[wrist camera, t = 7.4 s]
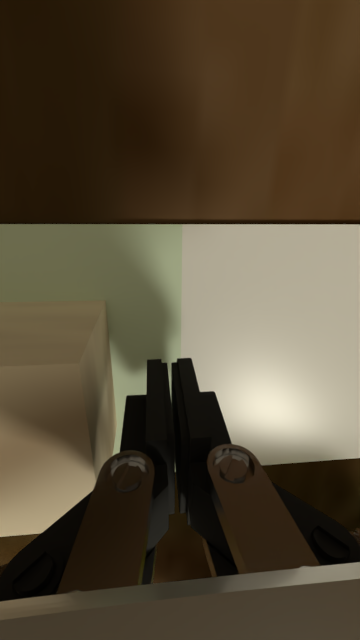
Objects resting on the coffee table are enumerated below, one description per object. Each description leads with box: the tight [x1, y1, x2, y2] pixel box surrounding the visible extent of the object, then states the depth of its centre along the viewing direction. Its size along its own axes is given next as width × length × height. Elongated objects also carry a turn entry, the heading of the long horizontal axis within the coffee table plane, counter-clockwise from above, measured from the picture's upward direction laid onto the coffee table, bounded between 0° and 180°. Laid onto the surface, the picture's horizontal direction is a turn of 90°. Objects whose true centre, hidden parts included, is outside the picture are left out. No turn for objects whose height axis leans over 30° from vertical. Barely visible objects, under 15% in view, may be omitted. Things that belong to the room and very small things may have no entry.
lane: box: [0, 224, 360, 472], centre depth 13 cm, size 12×24×1 cm, turn 89°
